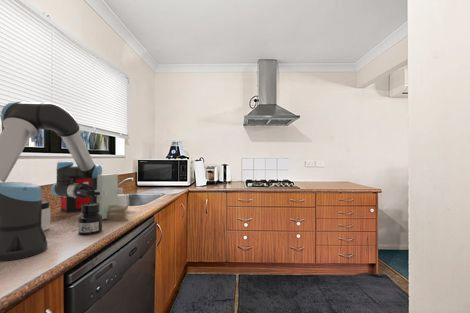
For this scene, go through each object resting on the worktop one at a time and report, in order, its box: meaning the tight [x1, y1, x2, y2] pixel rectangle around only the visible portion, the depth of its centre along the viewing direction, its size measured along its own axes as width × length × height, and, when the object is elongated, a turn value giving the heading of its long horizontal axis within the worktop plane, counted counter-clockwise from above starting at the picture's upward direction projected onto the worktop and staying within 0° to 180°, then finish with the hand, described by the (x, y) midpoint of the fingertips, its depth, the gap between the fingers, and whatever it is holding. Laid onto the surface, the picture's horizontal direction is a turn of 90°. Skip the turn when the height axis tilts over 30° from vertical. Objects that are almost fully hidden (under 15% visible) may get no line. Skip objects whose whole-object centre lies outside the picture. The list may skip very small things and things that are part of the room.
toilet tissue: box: [107, 193, 127, 211], centre depth 147 cm, size 11×12×10 cm
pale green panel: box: [97, 173, 119, 220], centre depth 132 cm, size 11×3×22 cm, turn 166°
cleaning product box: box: [60, 178, 97, 214], centre depth 154 cm, size 16×9×20 cm, turn 143°
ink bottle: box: [77, 203, 103, 236], centre depth 108 cm, size 10×9×12 cm
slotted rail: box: [104, 205, 129, 221], centre depth 132 cm, size 2×22×7 cm, turn 77°
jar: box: [41, 200, 51, 232], centre depth 111 cm, size 9×8×12 cm
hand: (114, 192), depth 131 cm, fingers closed on pale green panel, 11 cm apart
